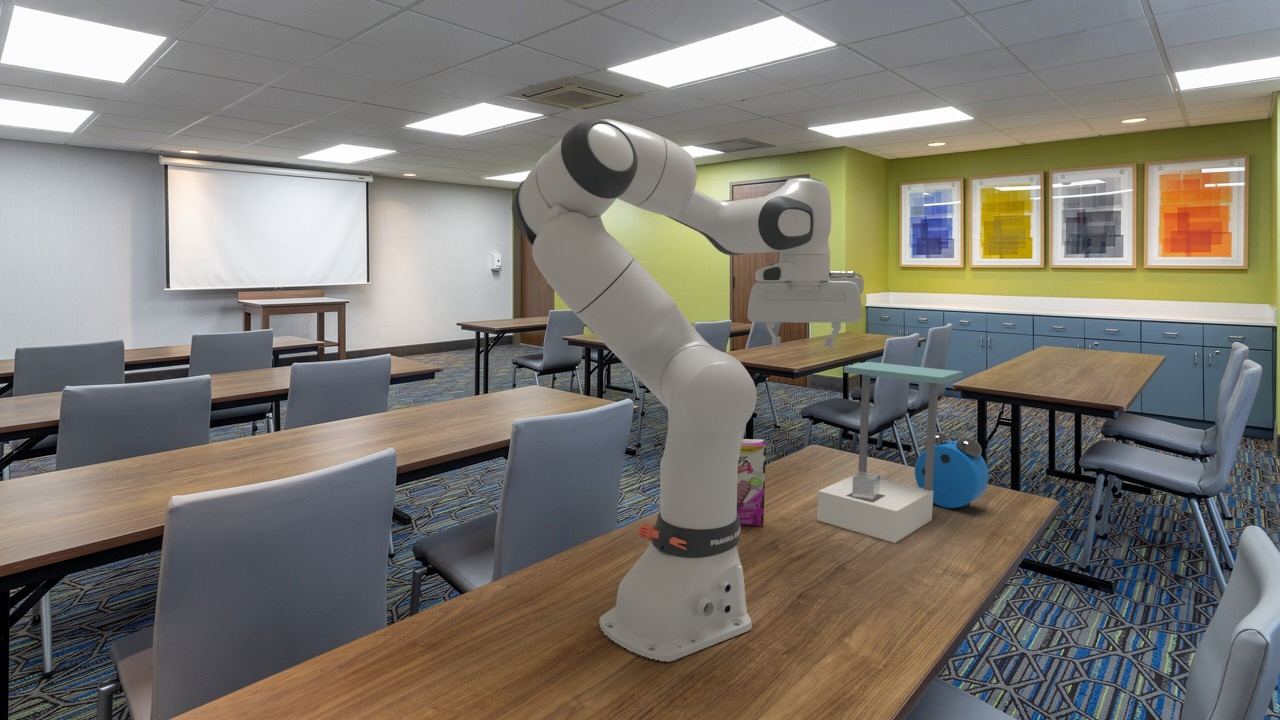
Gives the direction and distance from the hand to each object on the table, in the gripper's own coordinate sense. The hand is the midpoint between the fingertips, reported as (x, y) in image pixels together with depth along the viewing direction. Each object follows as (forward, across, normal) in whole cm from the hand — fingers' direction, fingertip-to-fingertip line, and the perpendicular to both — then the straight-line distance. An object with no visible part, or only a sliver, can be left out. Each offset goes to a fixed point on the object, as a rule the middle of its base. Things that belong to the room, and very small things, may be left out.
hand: (802, 347), depth 125 cm
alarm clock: (+35, -32, -18) cm, 51 cm away
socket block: (+35, -17, -10) cm, 40 cm away
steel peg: (+34, -13, -4) cm, 37 cm away
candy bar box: (+35, +12, -3) cm, 37 cm away
